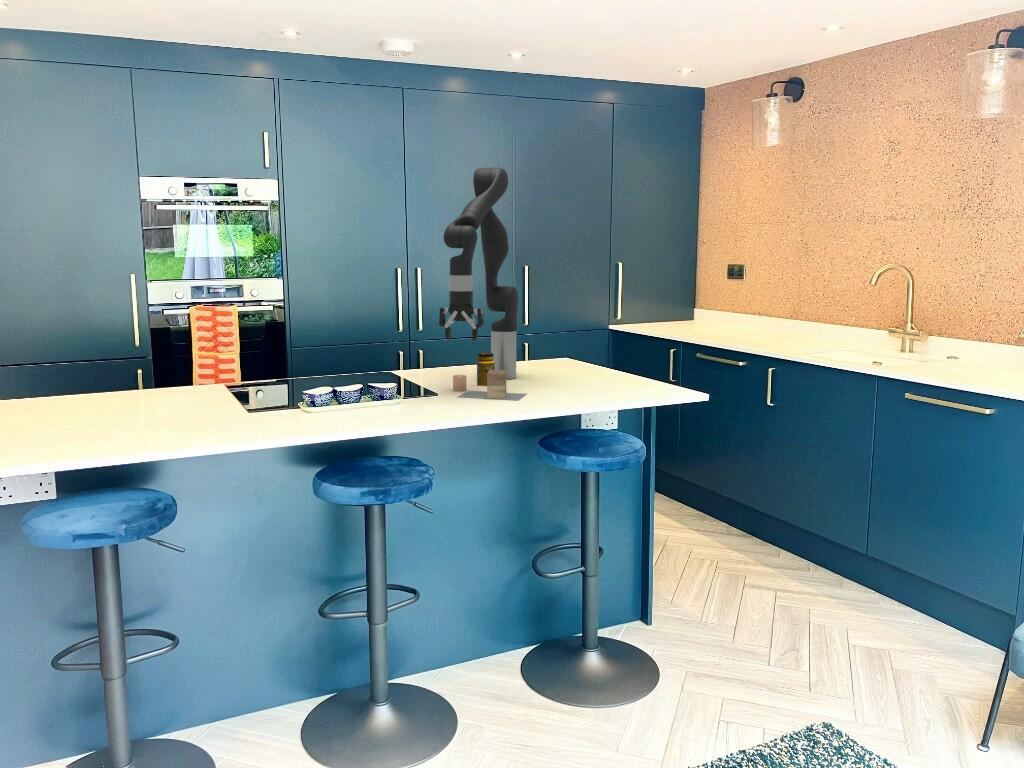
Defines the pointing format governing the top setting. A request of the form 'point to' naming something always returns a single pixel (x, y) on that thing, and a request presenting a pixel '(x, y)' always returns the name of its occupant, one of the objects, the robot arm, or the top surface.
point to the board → (484, 396)
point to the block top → (496, 378)
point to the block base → (496, 392)
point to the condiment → (484, 367)
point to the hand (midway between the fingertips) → (461, 339)
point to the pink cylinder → (459, 383)
